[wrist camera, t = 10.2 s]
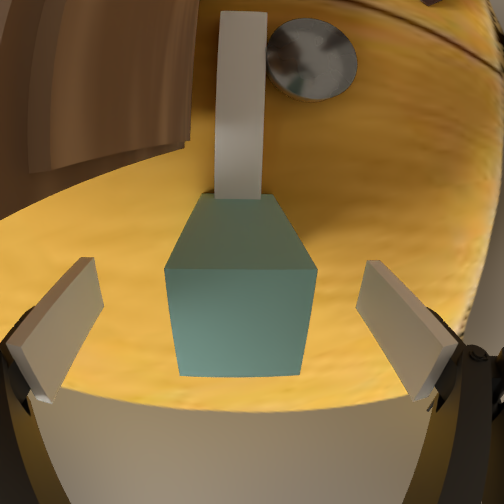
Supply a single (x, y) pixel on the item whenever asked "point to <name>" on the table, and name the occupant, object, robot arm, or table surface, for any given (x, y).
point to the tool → (239, 238)
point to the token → (310, 60)
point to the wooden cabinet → (89, 90)
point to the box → (430, 2)
